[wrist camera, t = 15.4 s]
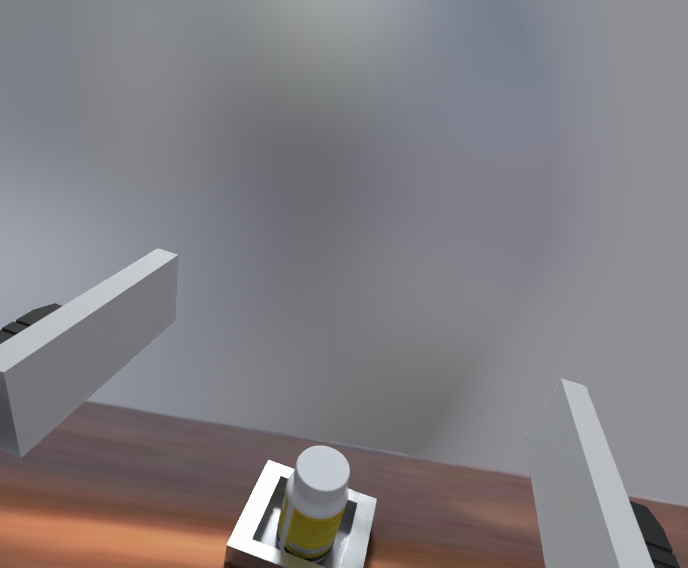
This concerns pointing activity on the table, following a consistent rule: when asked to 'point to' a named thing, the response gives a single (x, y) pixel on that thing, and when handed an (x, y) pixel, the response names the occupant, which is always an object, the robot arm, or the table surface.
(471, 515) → the table surface
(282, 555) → the rectangular metal tray
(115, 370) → the robot arm
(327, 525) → the supplement bottle
